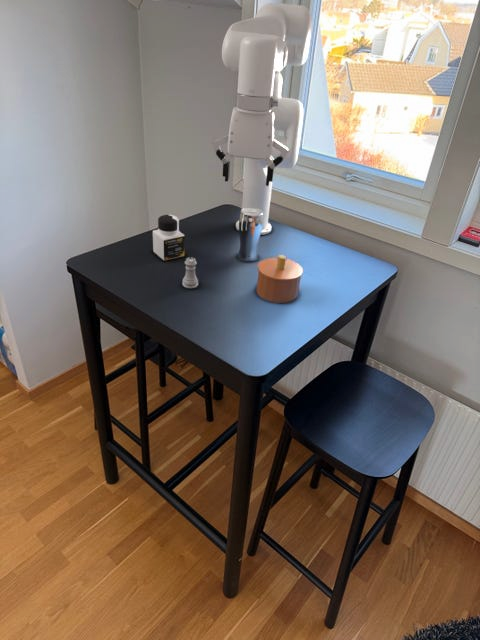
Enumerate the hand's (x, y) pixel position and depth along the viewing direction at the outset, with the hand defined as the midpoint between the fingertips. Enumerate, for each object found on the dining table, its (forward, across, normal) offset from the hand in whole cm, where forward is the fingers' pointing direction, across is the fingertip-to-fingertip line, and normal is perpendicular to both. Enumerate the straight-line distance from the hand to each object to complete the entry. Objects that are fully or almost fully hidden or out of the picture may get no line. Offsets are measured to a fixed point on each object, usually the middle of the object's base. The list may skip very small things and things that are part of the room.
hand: (247, 182), depth 110 cm
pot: (+31, -11, -3) cm, 33 cm away
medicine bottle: (+31, +23, -18) cm, 43 cm away
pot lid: (+24, -11, -3) cm, 26 cm away
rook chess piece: (+31, +13, -1) cm, 34 cm away
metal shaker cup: (+31, -1, -22) cm, 38 cm away
